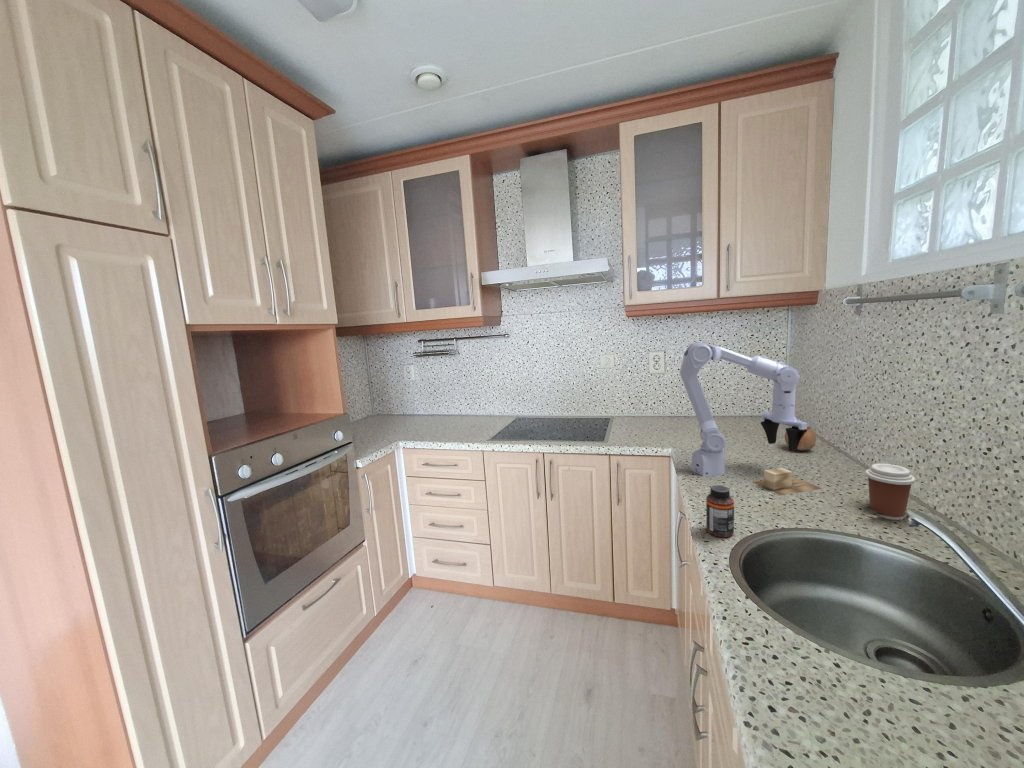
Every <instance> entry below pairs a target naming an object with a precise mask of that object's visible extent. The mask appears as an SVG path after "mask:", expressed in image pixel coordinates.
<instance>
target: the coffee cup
mask: <svg viewBox="0 0 1024 768" xmlns="http://www.w3.org/2000/svg"><path fill="white" fill-rule="evenodd" d="M864 475H865V476H866V477H867V481H868V499H869V500H868V502H869V503H868V504H869V507H870V509H872V510H873V511H876V512H878V513H873V515H874V516H876V517H879V518H882V519H886V520H893V521H896V520H897V521H899V520H900V519H901V520H904V519H905V517H906V513H905V511H906V512H907V507H908V502H909V497H910V493H911V492H910V491H911V487H912V485H913V484H915V483H916V480H917V478H915V476H914V475H912V474H911V470H909V469H908V468H907V467H904V466H900V465H896V464H890V463H873V464H872V465H870V468H868V469H866V470H865V471H864ZM903 518H904V519H903Z"/></svg>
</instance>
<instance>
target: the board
mask: <svg viewBox="0 0 1024 768" xmlns="http://www.w3.org/2000/svg"><path fill="white" fill-rule="evenodd" d="M752 483H754V484H756V485H758V486H760V487H762V488H764V489H766V490H768V491H770V492H772V493H775V494H777V495H779V496H783V495H791V494H798V493H804V492H809V491H810V492H811V491H816V490H822V489H823V487H819V486H817V485H815V484H812V483H810V482H807V481H806V480H802V479H801V478H797V477H795V476H793V475H792V488H791V489H784V490H778V491H772V490H770V489H768V488H766V487H764V479H763V480H758V481H753V482H752Z"/></svg>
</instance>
